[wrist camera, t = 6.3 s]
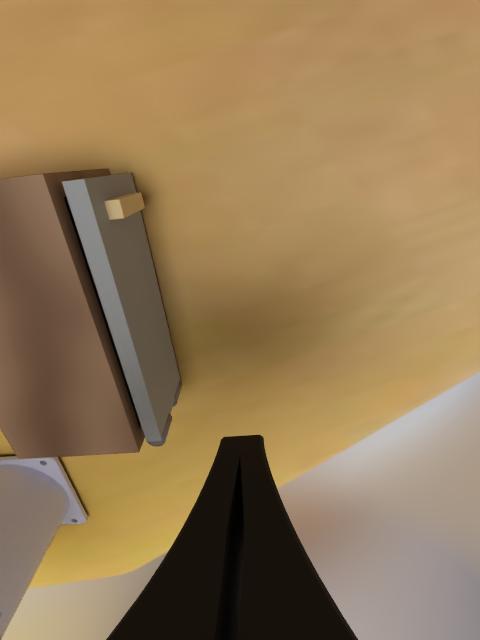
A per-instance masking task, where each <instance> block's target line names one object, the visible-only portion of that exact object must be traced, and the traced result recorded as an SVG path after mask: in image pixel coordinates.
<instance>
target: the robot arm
mask: <svg viewBox="0 0 480 640" xmlns="http://www.w3.org/2000/svg"><path fill="white" fill-rule="evenodd" d="M87 518H88V516H87V514H86V512H85V510H84V508H83V506H82V504H81V502H80V500H79V498H78V496H77V494H76V492H75V490H74V488H73V486H72V484H71V482H70V481H69V479H68V477H67V475H66V473H65V471H64V469H63V467H62V465H61V463H60V461H59V459H58V457H48V458H31V459H18V458H17V456H9V457H0V640H1V639H2V637H3V635H4V633H5V631H6V629H7V627H8V625H9V623H10V621H11V619H12V617H13V616H14V614H15V612H16V610H17V608H18V606H19V604H20V602H21V600H22V598H23V596H24V594H25V592H26V590H27V588H28V586H29V585H30V583H31V581H32V579H33V577H34V575H35V573H36V571H37V569H38V567H39V565H40V563H41V561H42V559H43V557H44V556H45V554H46V552H47V550H48V548H49V546H50V544H51V542H52V540H53V538H54V536H55V534H56V532H57V530H58V528H59V526H60V525H67V524H84V523H86V521H87ZM106 640H358V639H357V637H356V636H355V634H354V633H353V631H352V630H351V628H350V626H349V625H348V624H347V622H346V620H345V619H344V617H343V615H342V614H341V612H340V611H339V609H338V607H337V605H336V604H335V602H334V600H333V599H332V597H331V595H330V594H329V592H328V591H327V589H326V587H325V585H324V584H323V582H322V580H321V579H320V577H319V575H318V574H317V572H316V570H315V568H314V566H313V565H312V562H311V561H310V559H309V557H308V555H307V553H306V552H305V549H304V548H303V545H302V544H301V542H300V540H299V538H298V536H297V534H296V531H295V529H294V527H293V525H292V523H291V521H290V519H289V516H288V514H287V512H286V510H285V508H284V505H283V503H282V500H281V498H280V495H279V493H278V490H277V488H276V485H275V482H274V480H273V477H272V474H271V471H270V468H269V464H268V461H267V457H266V453H265V448H264V439H263V437H262V436H261V435H249V436H233V437H224V438H223V439H221V442H220V446H219V449H218V452H217V455H216V457H215V460H214V463H213V465H212V468H211V470H210V472H209V475H208V477H207V479H206V481H205V484H204V486H203V488H202V490H201V492H200V495H199V497H198V499H197V501H196V503H195V505H194V507H193V509H192V510H191V512H190V514H189V516H188V518H187V520H186V522H185V524H184V526H183V528H182V529H181V531H180V533H179V535H178V536H177V538H176V540H175V542H174V543H173V545H172V546H171V548H170V550H169V551H168V553H167V555H166V556H165V558H164V560H163V561H162V563H161V564H160V566H159V567H158V569H157V570H156V572H155V573H154V575H153V576H152V578H151V579H150V581H149V582H148V584H147V585H146V587H145V588H144V590H143V591H142V593H141V594H140V595H139V597H138V598H137V600H136V601H135V602H134V604H133V605H132V606H131V608H130V609H129V610H128V612H127V613H126V614H125V616H124V617H123V618H122V620H121V621H120V622H119V624H118V625H117V626H116V628H115V629H114V630H113V632H112V633H111V634H110V635H109V637H108V638H107V639H106Z"/></svg>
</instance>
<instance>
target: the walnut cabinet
mask: <svg viewBox="0 0 480 640" xmlns="http://www.w3.org/2000/svg"><path fill="white" fill-rule="evenodd" d="M108 175H110V173H109V169H96V170H84V171H72V172H60V173H48V174H38V175H30V176H22V177H14V178H6V179H0V428H1V430H2V432H3V434H4V435H5V437H6V439H7V440H8V442H9V444H10V446H11V447H12V449H13V451H14V452H15V454H16V456H17V458H18V459H31V458H48V457H66V456H83V455H101V454H118V453H136V452H139V451H140V449H141V446H142V443H143V441H144V438H145V435H144V432H143V429H142V426H141V423H140V420H139V417H138V414H137V411H136V408H135V405H134V402H133V398H132V395H131V392H130V389H129V386H128V383H127V380H126V377H125V374H124V371H123V368H122V365H121V362H120V359H119V356H118V353H117V349H116V346H115V343H114V340H113V337H112V334H111V331H110V328H109V325H108V322H107V319H106V316H105V313H104V310H103V307H102V304H101V300H100V297H99V294H98V291H97V288H96V285H95V282H94V279H93V276H92V273H91V270H90V267H89V264H88V261H87V258H86V255H85V251H84V248H83V245H82V242H81V239H80V236H79V233H78V230H77V227H76V224H75V221H74V218H73V215H72V212H71V209H70V206H69V202H68V199H67V196H66V193H65V190H64V187H63V184H62V182H63V181H71V180H78V179H86V178H93V177H101V176H108Z"/></svg>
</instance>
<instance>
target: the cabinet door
mask: <svg viewBox="0 0 480 640" xmlns="http://www.w3.org/2000/svg"><path fill="white" fill-rule="evenodd" d="M62 184H63V187H64V190H65V193H66V196H67V199H68V202H69V206H70V209H71V212H72V215H73V218H74V221H75V224H76V227H77V230H78V233H79V236H80V239H81V242H82V245H83V248H84V251H85V255H86V258H87V261H88V264H89V267H90V270H91V273H92V276H93V279H94V282H95V285H96V288H97V291H98V294H99V297H100V300H101V304H102V307H103V310H104V313H105V316H106V319H107V322H108V325H109V328H110V331H111V334H112V337H113V340H114V343H115V346H116V349H117V353H118V356H119V359H120V362H121V365H122V368H123V371H124V374H125V377H126V380H127V383H128V386H129V389H130V392H131V395H132V398H133V402H134V405H135V408H136V411H137V414H138V417H139V420H140V423H141V426H142V429H143V432H144V435H145V438H146V441H147V442H148V443H149V444H150V445H152V446H162V445H163V444H164V443H165V441H166V437H167V434H168V431H169V427H170V424H171V421H172V416H171V414H170V413H171V410H172V407H173V406H175V405H176V404H177V400H178V397H179V394H180V390H181V387H182V382H181V380H180V376H179V371H178V367H177V363H176V359H175V354H174V350H173V346H172V342H171V337H170V333H169V329H168V325H167V320H166V316H165V312H164V308H163V304H162V299H161V295H160V291H159V287H158V282H157V278H156V274H155V270H154V265H153V261H152V257H151V253H150V248H149V244H148V240H147V236H146V232H145V227H144V223H143V219H142V215H141V210H142V209H144V208H145V207H144V202H143V198H142V193H141V192H139V193H136V189H135V185H134V181H133V176H132V173H124V174H116V175H108V176H101V177H93V178H86V179H78V180H71V181H63V182H62Z"/></svg>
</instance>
